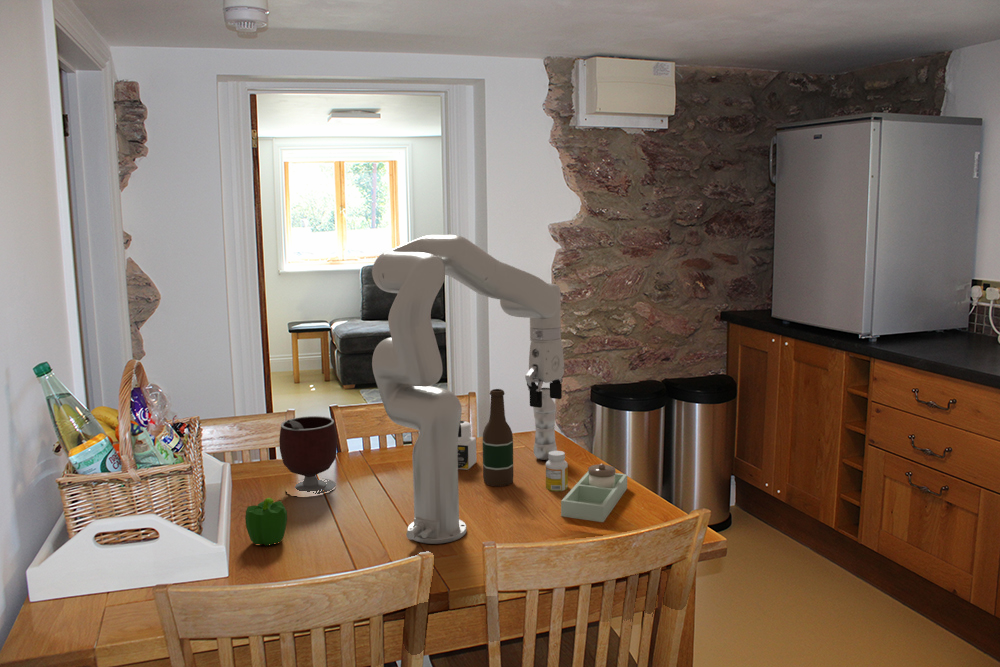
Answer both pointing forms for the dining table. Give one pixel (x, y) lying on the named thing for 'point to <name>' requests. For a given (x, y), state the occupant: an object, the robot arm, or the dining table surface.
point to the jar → (602, 476)
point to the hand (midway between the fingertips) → (546, 402)
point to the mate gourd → (309, 450)
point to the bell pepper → (266, 522)
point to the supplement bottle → (556, 471)
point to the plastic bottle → (545, 426)
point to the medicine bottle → (466, 446)
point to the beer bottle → (497, 444)
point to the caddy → (592, 499)
